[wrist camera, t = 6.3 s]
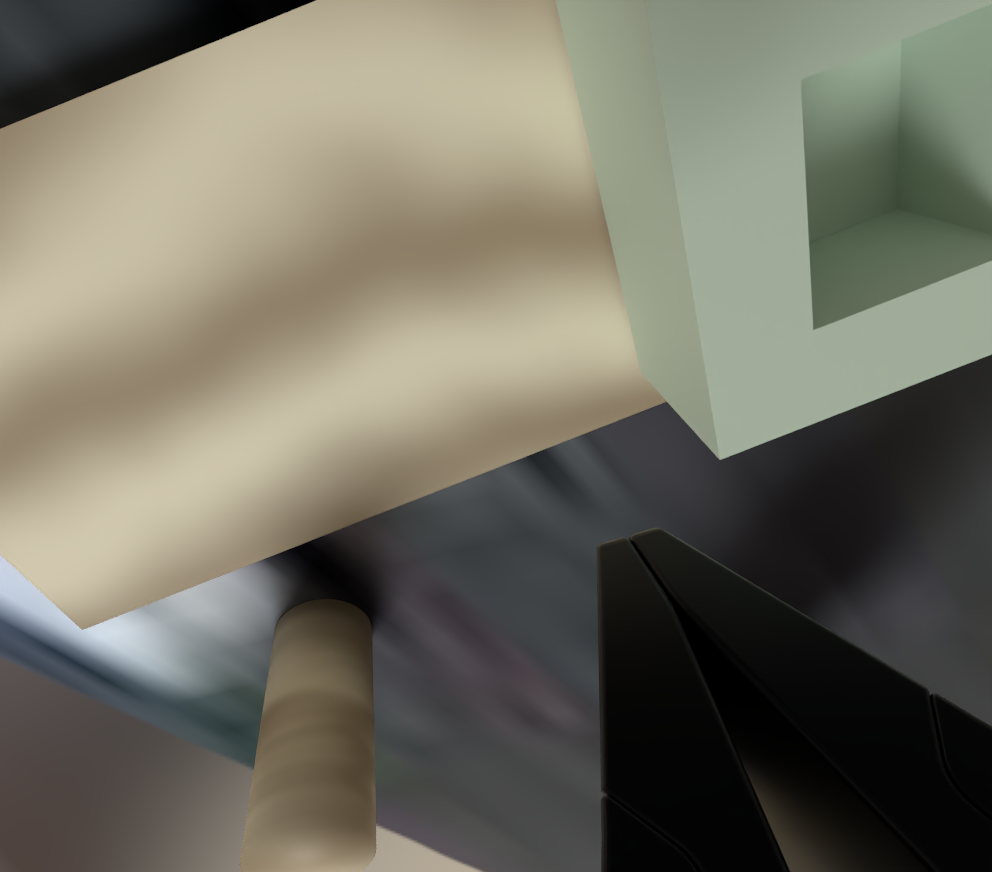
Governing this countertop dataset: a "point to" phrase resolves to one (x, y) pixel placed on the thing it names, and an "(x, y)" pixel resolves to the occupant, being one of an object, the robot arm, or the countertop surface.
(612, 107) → the socket block
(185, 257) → the wall board
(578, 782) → the countertop surface
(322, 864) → the dowel
